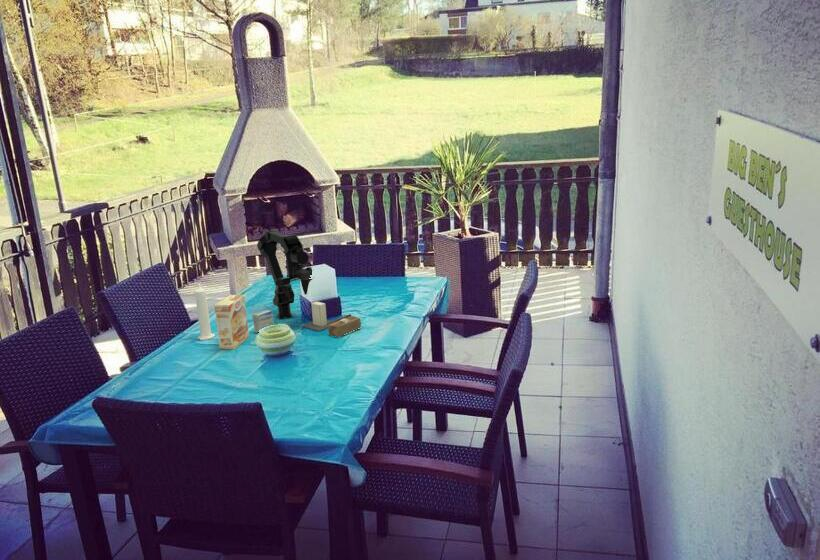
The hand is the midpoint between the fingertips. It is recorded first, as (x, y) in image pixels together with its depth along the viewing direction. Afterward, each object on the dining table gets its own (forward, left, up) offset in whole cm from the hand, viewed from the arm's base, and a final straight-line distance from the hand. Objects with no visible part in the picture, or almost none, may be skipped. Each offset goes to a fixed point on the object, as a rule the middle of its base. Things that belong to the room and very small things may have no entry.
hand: (298, 296), depth 304 cm
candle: (-2, -42, -13) cm, 44 cm away
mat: (+6, +8, -13) cm, 16 cm away
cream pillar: (+6, +8, -13) cm, 16 cm away
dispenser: (+20, +16, -13) cm, 29 cm away
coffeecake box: (+11, -31, -13) cm, 35 cm away
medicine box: (+1, -17, -13) cm, 21 cm away
